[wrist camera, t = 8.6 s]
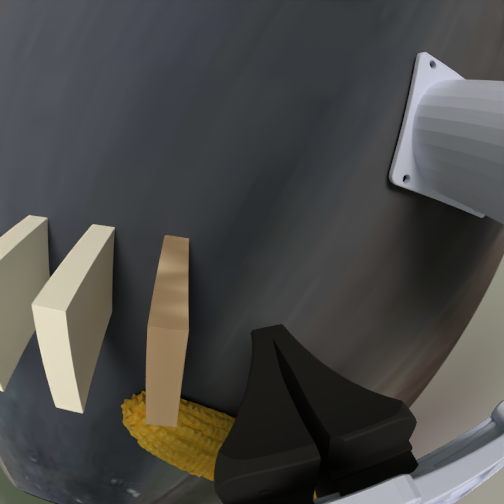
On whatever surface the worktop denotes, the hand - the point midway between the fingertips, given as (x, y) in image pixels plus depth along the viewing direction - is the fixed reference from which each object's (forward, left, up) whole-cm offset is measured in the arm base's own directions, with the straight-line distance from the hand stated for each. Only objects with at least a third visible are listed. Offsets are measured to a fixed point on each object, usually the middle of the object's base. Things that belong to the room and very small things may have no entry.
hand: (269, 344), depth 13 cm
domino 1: (+12, 0, -4) cm, 13 cm away
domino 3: (+4, 0, -4) cm, 6 cm away
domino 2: (+8, 0, -4) cm, 9 cm away
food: (-3, +13, -5) cm, 15 cm away
